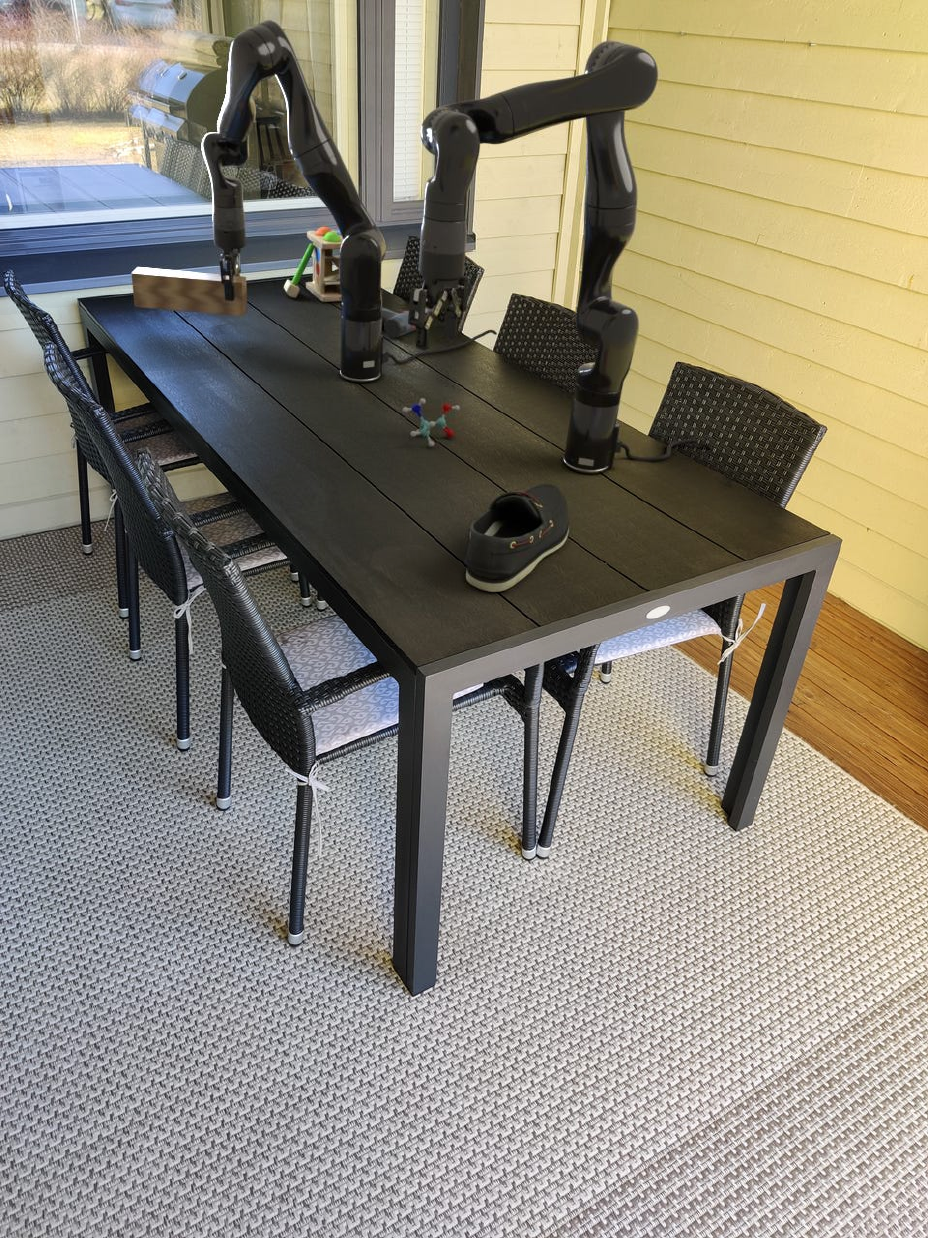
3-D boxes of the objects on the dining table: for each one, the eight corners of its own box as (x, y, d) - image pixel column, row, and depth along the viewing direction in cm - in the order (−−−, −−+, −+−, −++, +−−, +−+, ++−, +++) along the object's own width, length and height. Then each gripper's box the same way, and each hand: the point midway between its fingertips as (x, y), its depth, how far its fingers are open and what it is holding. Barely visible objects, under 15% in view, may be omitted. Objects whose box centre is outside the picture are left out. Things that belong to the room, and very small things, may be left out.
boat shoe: (593, 526, 180) (600, 474, 174) (502, 598, 156) (507, 541, 151) (532, 507, 186) (537, 456, 180) (435, 574, 162) (438, 517, 156)
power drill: (380, 308, 276) (439, 325, 268) (339, 322, 262) (400, 341, 254) (381, 288, 273) (441, 305, 265) (339, 302, 259) (401, 320, 251)
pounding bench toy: (292, 303, 272) (291, 236, 262) (277, 288, 282) (276, 223, 272) (370, 299, 281) (372, 234, 271) (352, 285, 292) (353, 221, 282)
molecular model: (451, 439, 197) (435, 390, 196) (410, 454, 201) (394, 406, 199) (469, 435, 207) (454, 389, 206) (430, 449, 211) (415, 404, 210)
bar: (247, 309, 247) (246, 276, 243) (243, 316, 243) (242, 282, 238) (140, 300, 246) (137, 266, 241) (134, 306, 241) (131, 272, 237)
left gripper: (219, 216, 239) (222, 287, 248) (206, 230, 227) (210, 303, 237) (250, 219, 239) (252, 289, 249) (239, 233, 227) (242, 306, 237)
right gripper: (437, 258, 154) (430, 358, 163) (485, 243, 164) (476, 339, 173) (398, 248, 157) (394, 347, 166) (448, 234, 167) (441, 328, 176)
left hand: (232, 296), depth 243 cm, fingers closed on bar, 5 cm apart
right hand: (436, 343), depth 169 cm, fingers open, 8 cm apart
